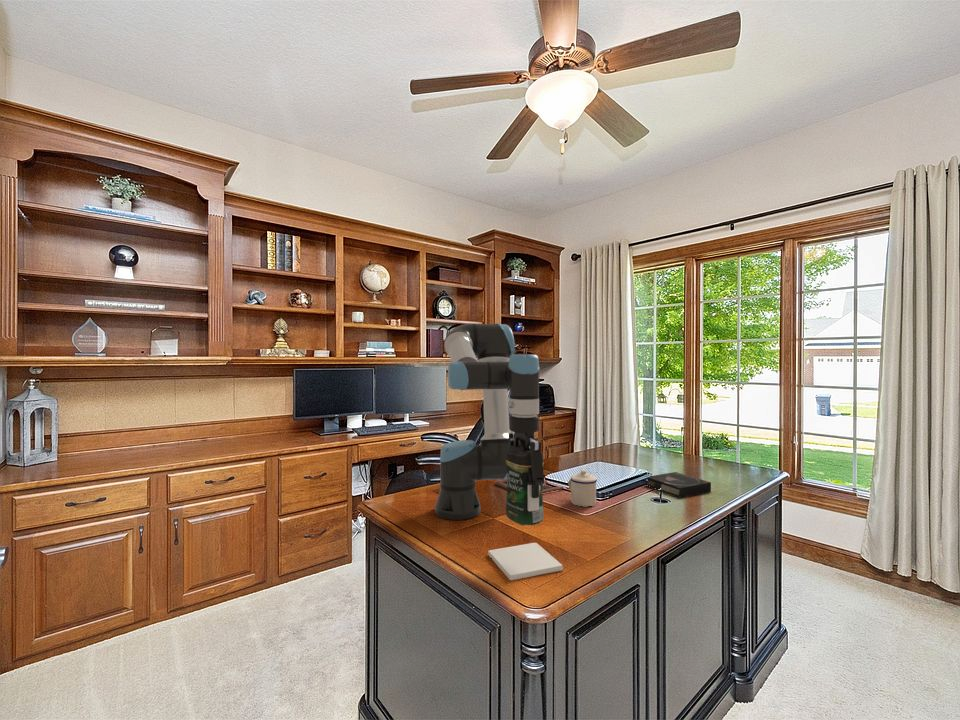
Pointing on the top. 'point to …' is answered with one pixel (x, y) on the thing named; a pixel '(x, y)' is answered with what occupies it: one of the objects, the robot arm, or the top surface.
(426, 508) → the top surface
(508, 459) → the coffee jar
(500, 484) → the picture frame
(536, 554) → the coaster board
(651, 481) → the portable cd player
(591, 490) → the teacup with lid
